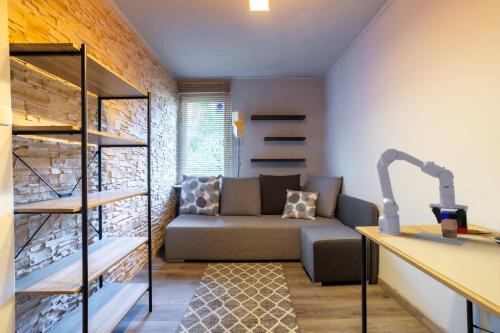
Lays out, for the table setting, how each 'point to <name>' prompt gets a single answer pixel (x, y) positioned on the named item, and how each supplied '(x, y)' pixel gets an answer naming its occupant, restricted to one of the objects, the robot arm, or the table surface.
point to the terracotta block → (448, 224)
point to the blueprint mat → (440, 238)
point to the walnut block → (449, 233)
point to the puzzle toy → (452, 215)
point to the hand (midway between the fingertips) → (449, 224)
